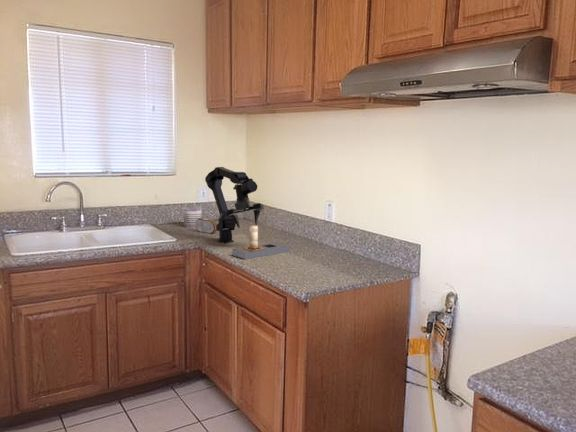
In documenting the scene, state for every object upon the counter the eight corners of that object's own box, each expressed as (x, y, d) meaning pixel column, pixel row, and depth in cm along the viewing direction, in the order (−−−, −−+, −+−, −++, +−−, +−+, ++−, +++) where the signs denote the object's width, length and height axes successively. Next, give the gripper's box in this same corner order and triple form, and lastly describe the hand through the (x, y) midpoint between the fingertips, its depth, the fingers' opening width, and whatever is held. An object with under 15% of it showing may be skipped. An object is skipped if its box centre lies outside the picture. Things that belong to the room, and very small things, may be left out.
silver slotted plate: (244, 259, 226) (245, 252, 225) (232, 255, 233) (232, 248, 233) (289, 251, 244) (289, 244, 244) (276, 247, 252) (276, 241, 251)
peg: (247, 254, 236) (248, 226, 234) (254, 253, 238) (255, 225, 236) (252, 256, 233) (252, 227, 230) (259, 255, 235) (259, 226, 233)
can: (203, 224, 312) (202, 206, 310) (200, 228, 301) (200, 209, 299) (185, 224, 311) (184, 206, 309) (182, 227, 300) (181, 208, 298)
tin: (217, 233, 284) (217, 219, 283) (214, 234, 282) (214, 220, 280) (198, 230, 292) (198, 217, 291) (194, 231, 290) (194, 217, 288)
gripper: (219, 198, 241) (224, 229, 240) (255, 190, 238) (260, 222, 236) (227, 200, 252) (232, 230, 251) (261, 193, 248) (266, 223, 247)
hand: (247, 226), depth 246 cm, fingers open, 9 cm apart
